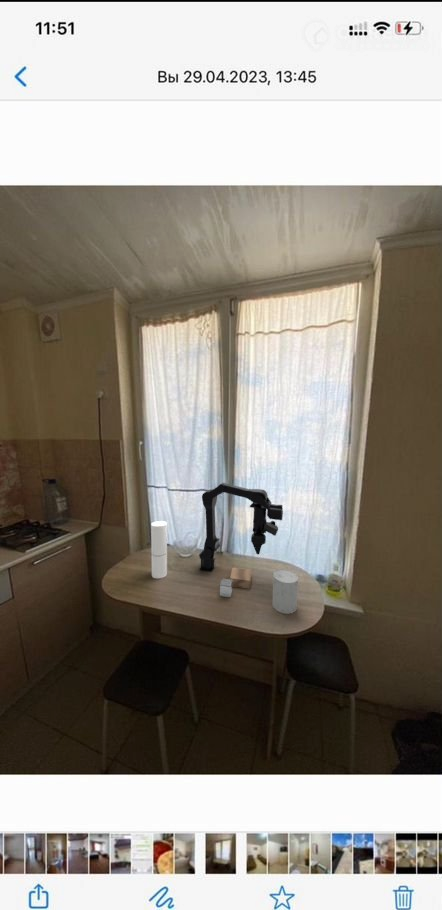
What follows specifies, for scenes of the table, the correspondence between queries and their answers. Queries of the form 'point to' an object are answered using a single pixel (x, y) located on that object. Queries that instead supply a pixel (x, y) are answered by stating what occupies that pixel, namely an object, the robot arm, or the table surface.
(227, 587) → the grey cube
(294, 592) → the white cylinder
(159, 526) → the cylindrical container
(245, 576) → the tan block
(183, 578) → the table surface
